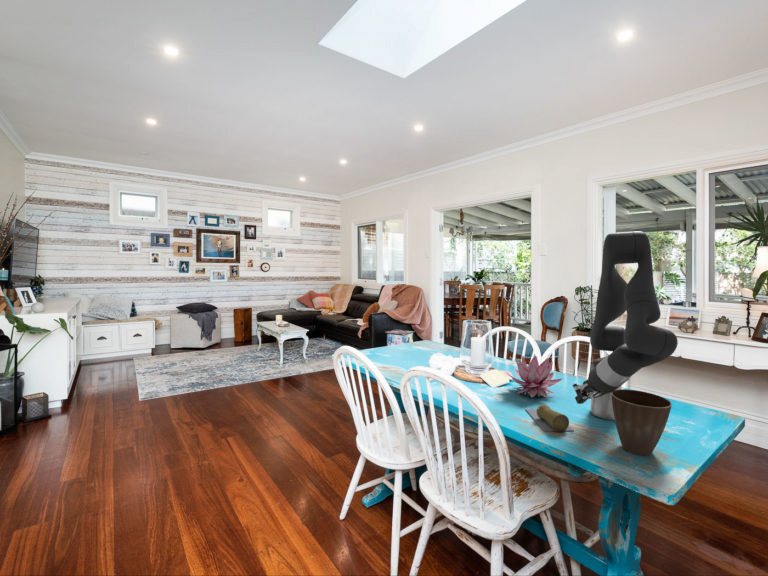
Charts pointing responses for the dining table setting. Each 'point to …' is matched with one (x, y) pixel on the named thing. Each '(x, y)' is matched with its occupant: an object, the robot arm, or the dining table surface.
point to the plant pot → (639, 419)
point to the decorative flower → (535, 377)
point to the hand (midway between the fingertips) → (578, 400)
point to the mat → (543, 421)
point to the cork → (553, 418)
